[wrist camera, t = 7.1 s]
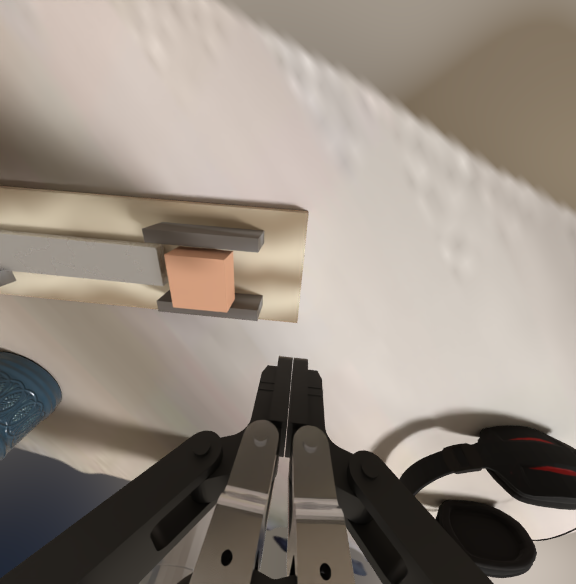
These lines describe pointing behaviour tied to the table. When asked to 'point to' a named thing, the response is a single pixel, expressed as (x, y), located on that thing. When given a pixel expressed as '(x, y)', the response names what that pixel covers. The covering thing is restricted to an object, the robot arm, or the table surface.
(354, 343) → the table surface
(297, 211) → the latch base
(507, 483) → the headset
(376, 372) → the table surface
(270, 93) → the table surface
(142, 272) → the strap
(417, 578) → the robot arm
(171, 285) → the peach block
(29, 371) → the canister
